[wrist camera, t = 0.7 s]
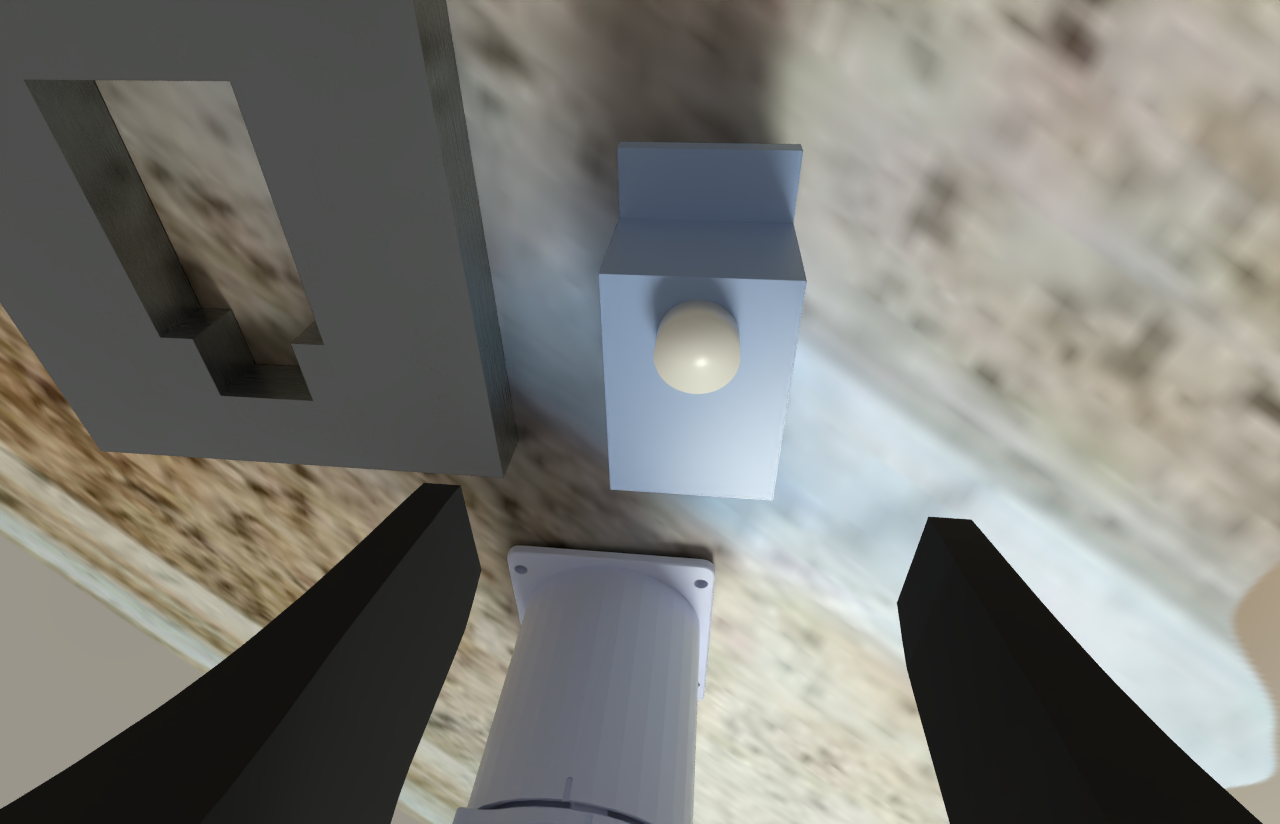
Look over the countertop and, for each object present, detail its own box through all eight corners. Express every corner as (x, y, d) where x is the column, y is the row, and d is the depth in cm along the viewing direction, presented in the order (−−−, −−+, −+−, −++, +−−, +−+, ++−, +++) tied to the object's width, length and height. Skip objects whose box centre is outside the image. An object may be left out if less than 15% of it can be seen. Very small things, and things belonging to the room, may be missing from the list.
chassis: (518, 441, 22) (503, 477, 20) (139, 418, 23) (100, 451, 22) (411, -206, 12) (370, -224, 11) (-224, -182, 14) (-338, -196, 12)
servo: (756, 420, 20) (766, 578, 15) (636, 414, 21) (608, 565, 16) (792, 121, 15) (826, 214, 10) (631, 119, 15) (585, 208, 10)
